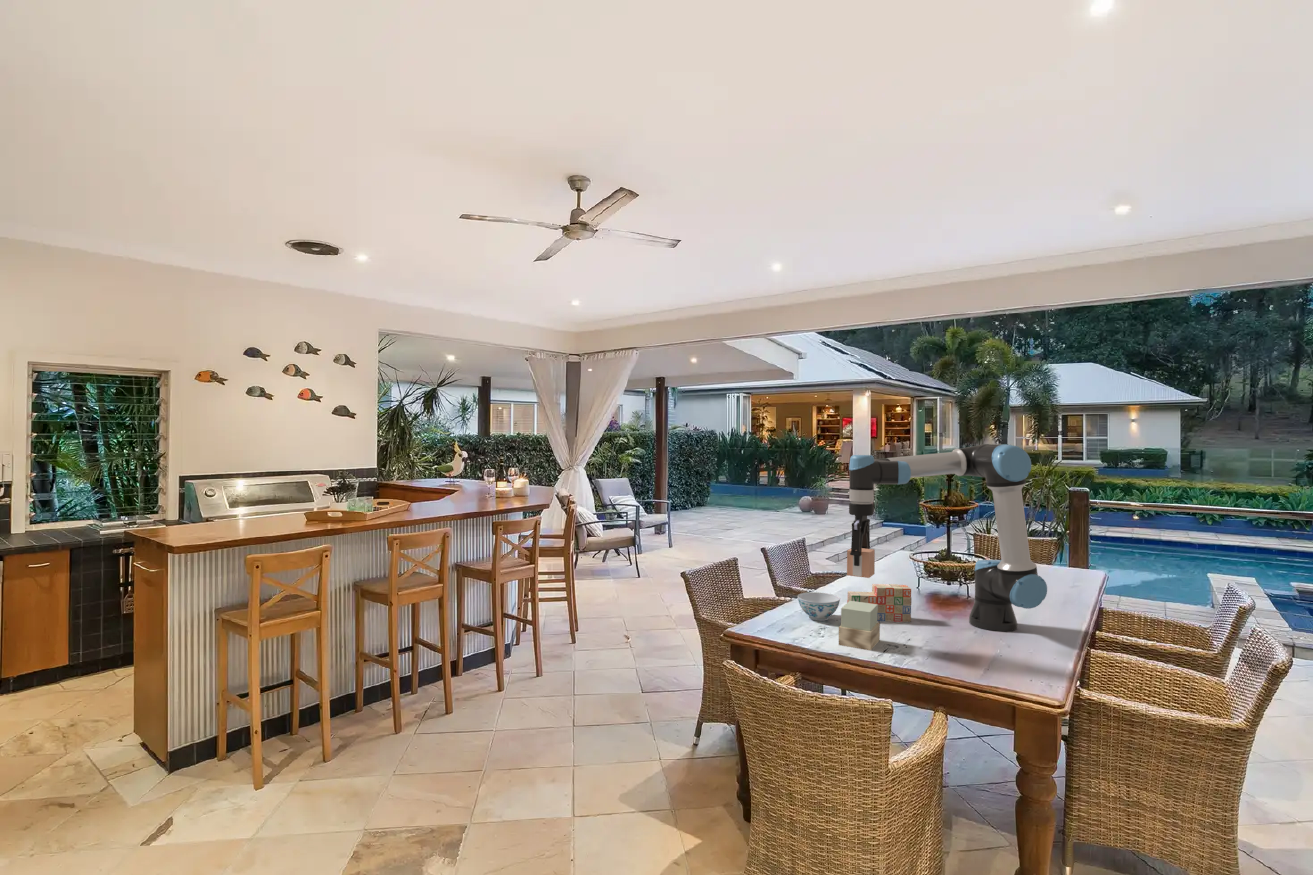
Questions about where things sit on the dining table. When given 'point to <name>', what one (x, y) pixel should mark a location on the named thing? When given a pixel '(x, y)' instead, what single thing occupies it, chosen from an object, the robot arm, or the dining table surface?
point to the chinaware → (818, 604)
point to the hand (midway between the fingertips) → (860, 573)
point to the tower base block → (859, 637)
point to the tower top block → (859, 615)
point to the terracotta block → (863, 563)
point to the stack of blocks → (887, 601)
